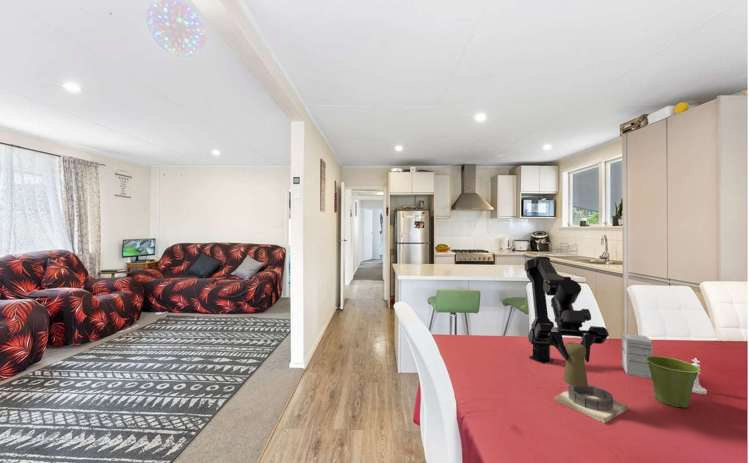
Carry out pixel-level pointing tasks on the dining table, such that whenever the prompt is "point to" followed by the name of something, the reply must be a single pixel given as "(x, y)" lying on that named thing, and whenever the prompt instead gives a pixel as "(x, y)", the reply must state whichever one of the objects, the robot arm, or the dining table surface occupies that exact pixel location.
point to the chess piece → (696, 386)
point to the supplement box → (636, 354)
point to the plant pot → (672, 380)
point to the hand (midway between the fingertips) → (577, 360)
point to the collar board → (592, 412)
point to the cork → (575, 365)
